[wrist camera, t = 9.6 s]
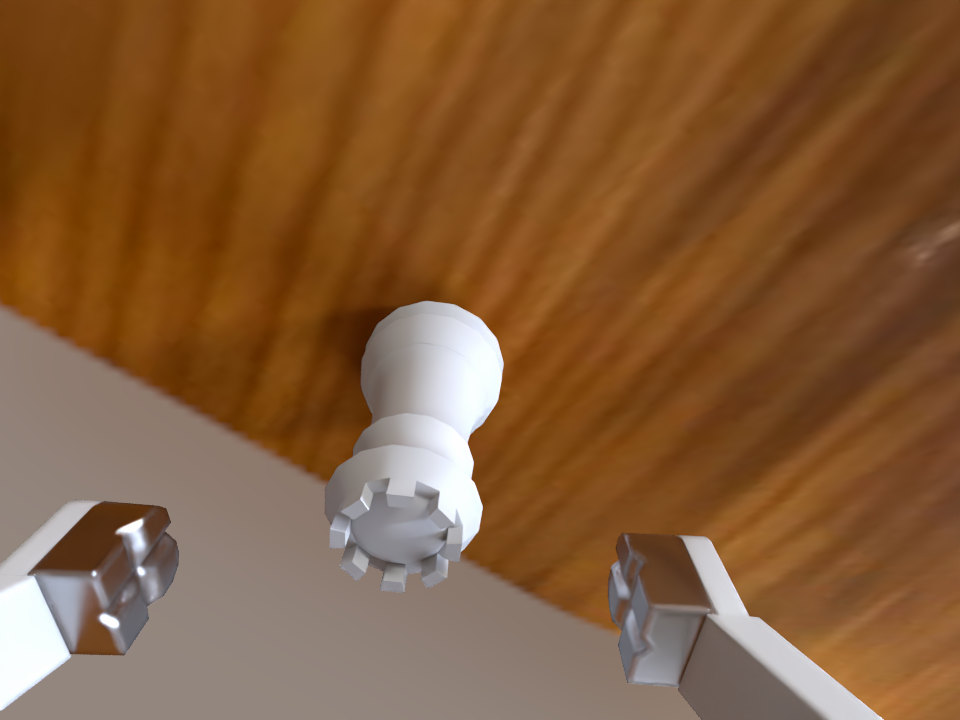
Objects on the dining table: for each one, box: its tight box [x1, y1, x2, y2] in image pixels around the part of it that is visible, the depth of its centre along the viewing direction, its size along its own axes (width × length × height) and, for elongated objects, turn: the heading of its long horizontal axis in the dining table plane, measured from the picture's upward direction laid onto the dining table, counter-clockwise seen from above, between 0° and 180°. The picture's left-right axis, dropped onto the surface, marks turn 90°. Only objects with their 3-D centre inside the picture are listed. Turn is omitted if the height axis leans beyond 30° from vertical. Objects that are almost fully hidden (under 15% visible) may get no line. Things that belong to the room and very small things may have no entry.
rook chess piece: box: [325, 301, 504, 593], centre depth 13 cm, size 4×4×8 cm
